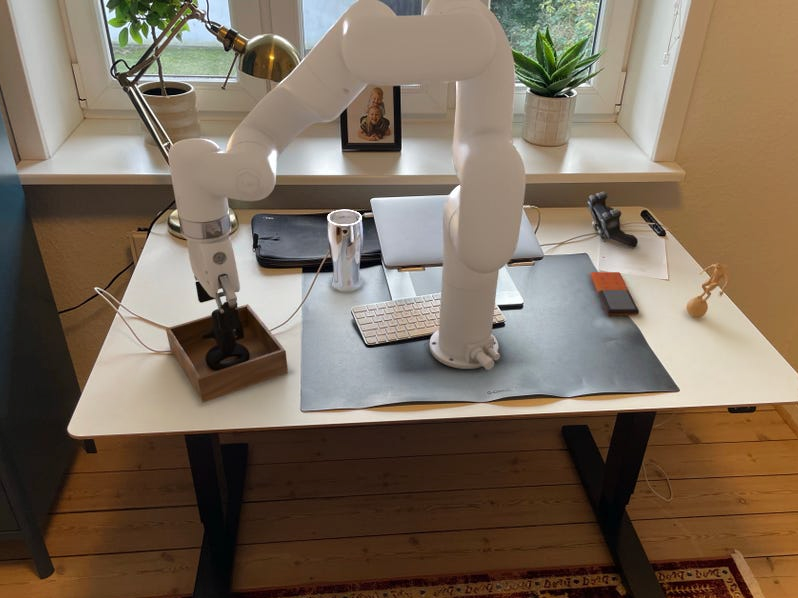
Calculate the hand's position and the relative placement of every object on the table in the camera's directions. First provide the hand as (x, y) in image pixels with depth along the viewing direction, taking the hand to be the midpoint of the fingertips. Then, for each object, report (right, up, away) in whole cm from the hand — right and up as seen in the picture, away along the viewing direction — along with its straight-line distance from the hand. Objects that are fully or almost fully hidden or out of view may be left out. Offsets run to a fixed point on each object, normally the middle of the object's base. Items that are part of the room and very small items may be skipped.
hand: (218, 314), depth 125 cm
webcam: (0, -8, +6) cm, 10 cm away
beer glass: (+18, +8, +28) cm, 34 cm away
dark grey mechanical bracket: (+77, +22, +49) cm, 94 cm away
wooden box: (0, -8, +6) cm, 10 cm away
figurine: (+89, +1, +24) cm, 92 cm away
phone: (+73, +5, +28) cm, 78 cm away
